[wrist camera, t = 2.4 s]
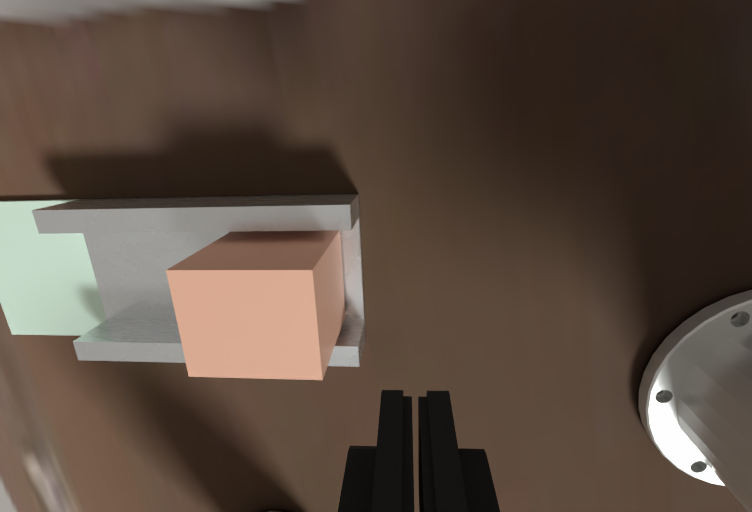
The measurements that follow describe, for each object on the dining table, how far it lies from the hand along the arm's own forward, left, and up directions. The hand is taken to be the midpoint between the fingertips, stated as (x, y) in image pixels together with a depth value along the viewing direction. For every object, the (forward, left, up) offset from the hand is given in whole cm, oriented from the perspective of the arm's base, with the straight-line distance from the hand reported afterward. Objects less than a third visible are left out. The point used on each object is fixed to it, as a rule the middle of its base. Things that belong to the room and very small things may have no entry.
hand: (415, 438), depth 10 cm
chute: (+11, 0, -13) cm, 17 cm away
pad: (+22, 0, -13) cm, 26 cm away
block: (+7, 0, -12) cm, 14 cm away
